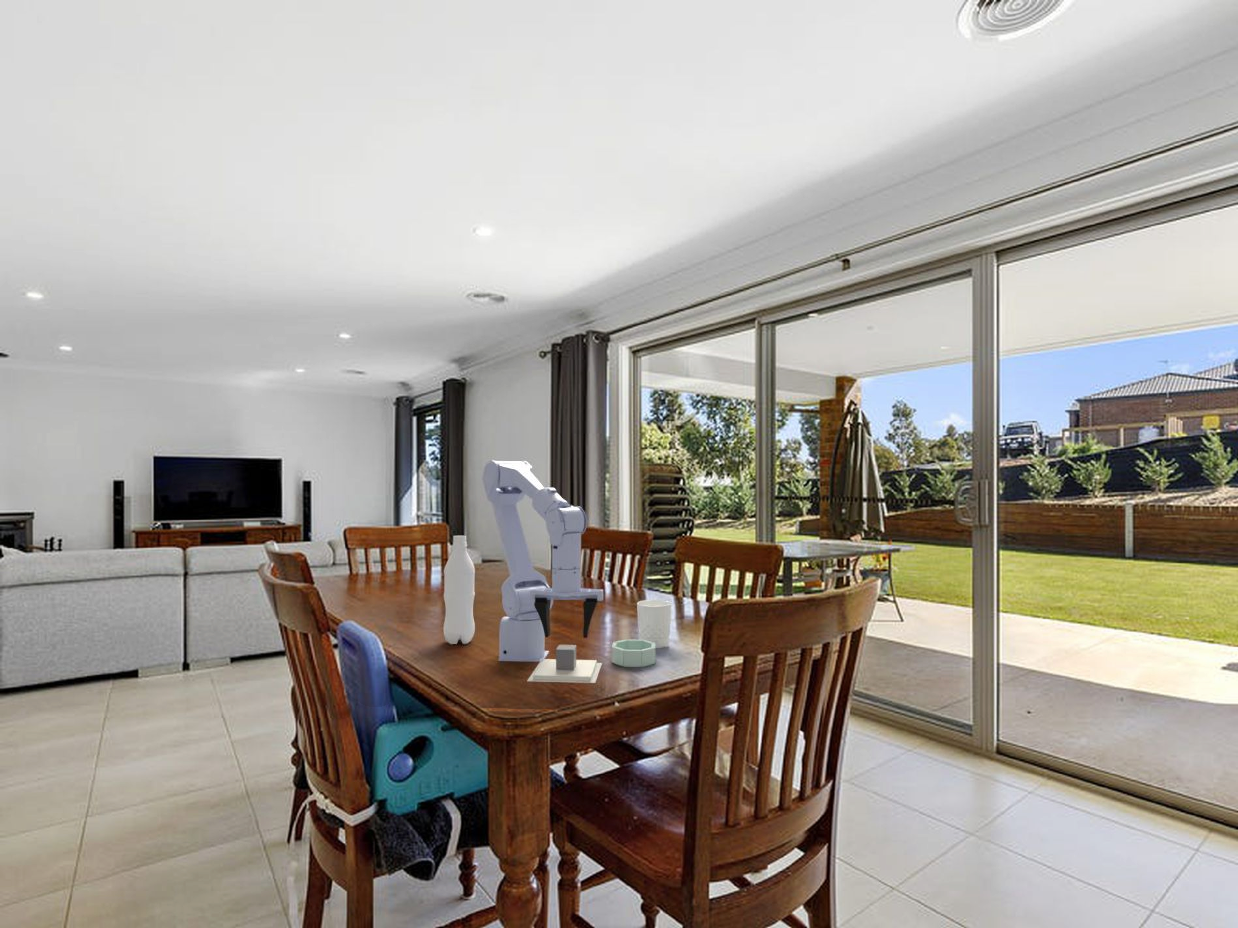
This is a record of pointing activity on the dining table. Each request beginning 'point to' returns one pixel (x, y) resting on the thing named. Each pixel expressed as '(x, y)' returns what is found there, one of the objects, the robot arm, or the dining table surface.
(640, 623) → the white cup
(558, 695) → the dining table surface
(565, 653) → the lid
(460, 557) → the water bottle
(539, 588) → the robot arm
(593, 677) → the cream square tray
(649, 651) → the bowl
